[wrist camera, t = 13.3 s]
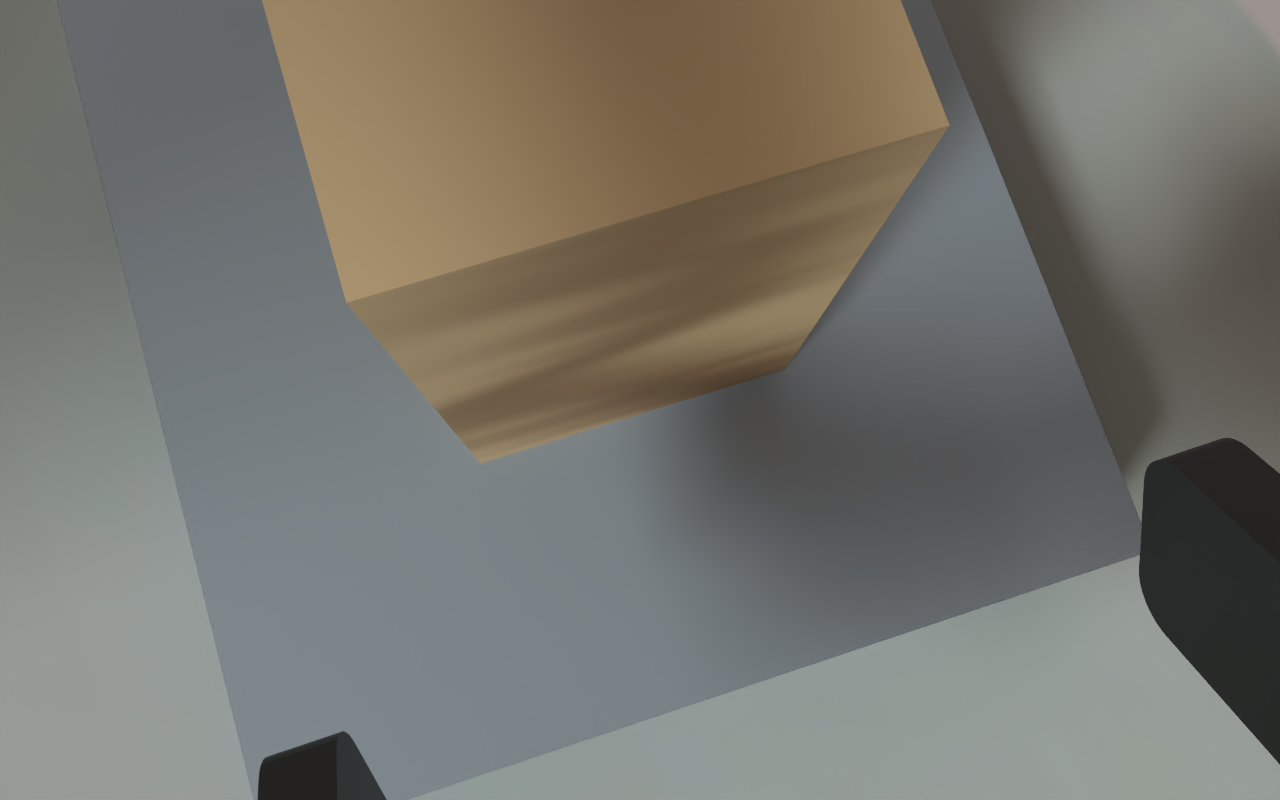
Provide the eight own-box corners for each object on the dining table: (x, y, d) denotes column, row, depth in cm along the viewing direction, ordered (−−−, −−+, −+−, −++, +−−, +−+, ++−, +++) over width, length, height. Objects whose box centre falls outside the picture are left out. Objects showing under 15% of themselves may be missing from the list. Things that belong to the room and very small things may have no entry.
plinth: (318, 813, 19) (265, 846, 16) (132, 84, 22) (57, 0, 19) (1075, 560, 21) (1152, 550, 18) (816, -106, 23) (846, -212, 20)
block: (480, 463, 18) (345, 302, 9) (394, 172, 19) (195, -240, 10) (785, 369, 18) (949, 124, 9) (687, 88, 19) (750, -381, 10)
